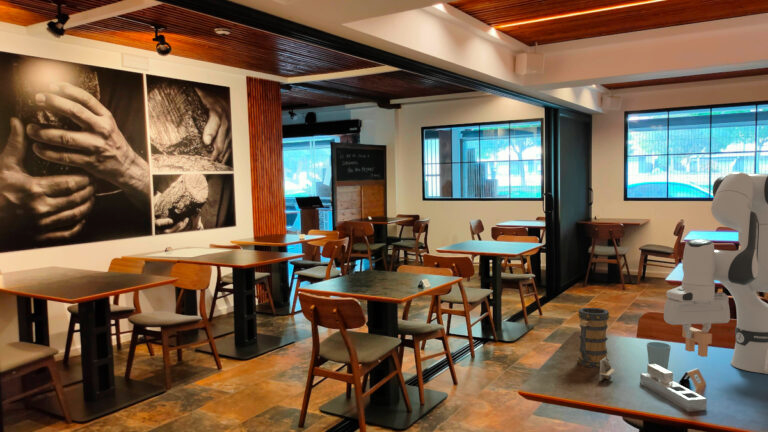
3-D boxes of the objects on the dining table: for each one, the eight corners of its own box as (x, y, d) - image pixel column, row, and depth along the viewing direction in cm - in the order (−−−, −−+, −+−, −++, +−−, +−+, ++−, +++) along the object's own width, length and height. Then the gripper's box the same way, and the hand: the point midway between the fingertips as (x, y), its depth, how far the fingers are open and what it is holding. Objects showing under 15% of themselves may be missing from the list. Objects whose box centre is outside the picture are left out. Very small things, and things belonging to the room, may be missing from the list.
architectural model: (615, 379, 201) (615, 358, 200) (608, 385, 195) (609, 364, 195) (605, 377, 203) (605, 357, 202) (598, 383, 197) (598, 362, 197)
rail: (656, 382, 196) (656, 362, 196) (706, 410, 172) (706, 387, 172) (640, 383, 195) (640, 363, 195) (688, 411, 172) (688, 388, 171)
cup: (675, 375, 203) (675, 346, 202) (659, 378, 200) (659, 349, 199) (657, 369, 210) (657, 340, 209) (641, 372, 207) (641, 343, 206)
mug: (616, 362, 218) (617, 310, 217) (598, 374, 205) (599, 318, 204) (583, 355, 227) (583, 305, 225) (564, 366, 214) (564, 313, 213)
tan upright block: (690, 348, 181) (691, 326, 181) (711, 357, 173) (711, 334, 172) (681, 349, 181) (682, 327, 181) (702, 357, 172) (702, 334, 172)
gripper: (720, 290, 181) (719, 334, 181) (661, 291, 177) (659, 336, 178) (736, 294, 175) (734, 339, 175) (674, 295, 171) (673, 341, 172)
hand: (696, 337), depth 177 cm, fingers closed on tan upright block, 3 cm apart
